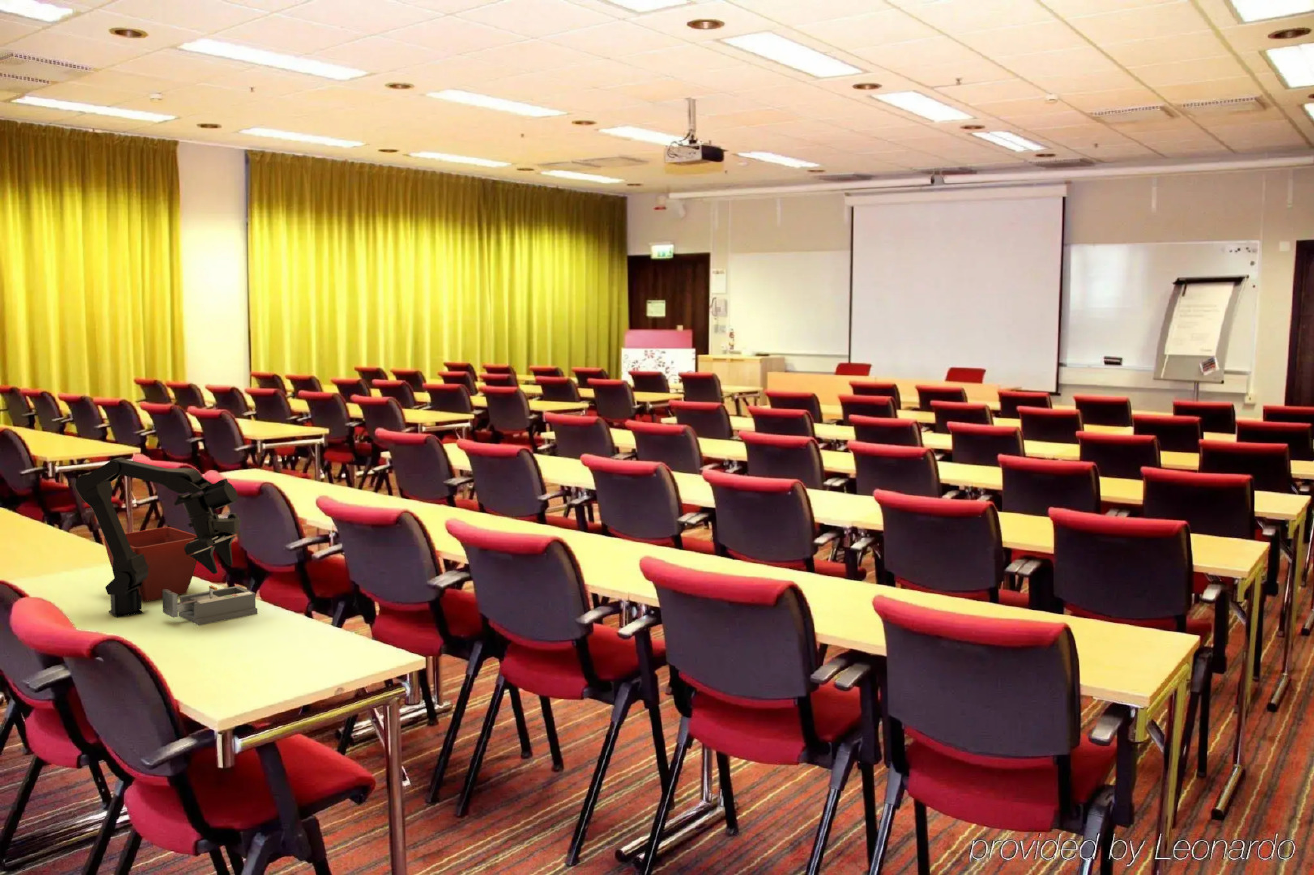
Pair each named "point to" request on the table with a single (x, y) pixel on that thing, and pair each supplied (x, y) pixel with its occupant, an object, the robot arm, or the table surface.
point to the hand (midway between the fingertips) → (223, 569)
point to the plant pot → (162, 560)
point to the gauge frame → (220, 605)
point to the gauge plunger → (173, 607)
